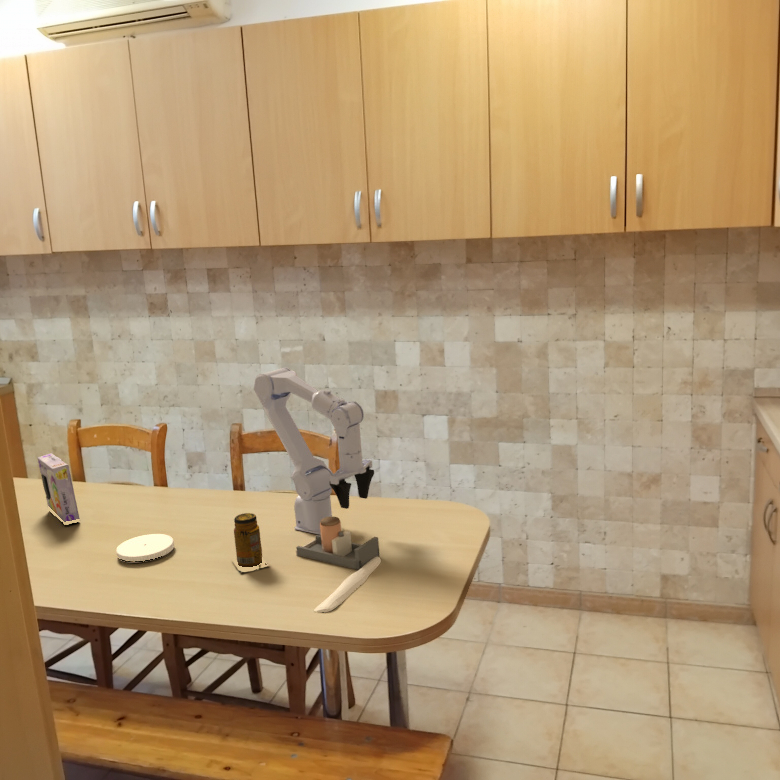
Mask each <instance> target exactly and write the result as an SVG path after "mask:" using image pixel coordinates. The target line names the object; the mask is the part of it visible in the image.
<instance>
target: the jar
mask: <svg viewBox="0 0 780 780" xmlns="http://www.w3.org/2000/svg"><path fill="white" fill-rule="evenodd" d="M339 531H342V523H341V520H340V518H339V517H338V516H332V517H325V518H323V519H321V520H320V532H321V535H320V536H321V542H322V551H323V552H328V553H332V554H333V548H332V540H333V539H334V538H336V537H338V536H339V533H338V532H339Z"/></svg>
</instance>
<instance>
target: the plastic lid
mask: <svg viewBox="0 0 780 780" xmlns="http://www.w3.org/2000/svg"><path fill="white" fill-rule="evenodd" d="M174 541H175V540H174V538H173V537H172V536H171V535H169V534H163V533H150V534H143V535H138V536H135V537H132V538H130V539H127V540H125V541H123V542H121V543H120V544H119V545H118V546H117V547H116V548H115V549H116V550H115V553H116V557H117V556H118V557H119V558H120V559H123V560H127V561H128V560H129V561H143V562H144V560H150V559H153V560H156V559H155V558H157V559H159V558H158V557H160V558H162V557H164V556H166V555H168V554H169V553H170V552H172V550H173V549H174V548H175V543H174ZM161 556H162V557H161ZM118 557H117V558H118ZM150 561H151V560H150Z"/></svg>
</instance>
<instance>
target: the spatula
mask: <svg viewBox="0 0 780 780" xmlns="http://www.w3.org/2000/svg"><path fill="white" fill-rule="evenodd" d="M381 563H382V559H381V558H380V557H375V558H373V559H372V560H370V561H369V562H368V563H367V564H365V565H364V566H363V567H362V568H361V569H360V570H356V571H355V572H353V573H352V574H350V575H348V576H347V577H346V578H345V579H344V580H343V581H342V582H341V584H339V586H338V587H337V588H336V589H335V590H334V591H333V592H332V593H331V594H330V595H329V596H328V597H326V598H325V600H323V601H322V602H321V603H320V604H318V605H317V606H316V607H315V608H314V609H313V612H314V611H317V612H324V613H328V612H331V611H333V610H334V609H336V608H338V606H339V605H341V604H343V603H344V602H345V601H346V600H347V599H348V598H349V597H350V596H351V595H352V594H353V593H354V592H355V591H356V590H357V589H358V588H360V587H361V586H362V585H363V584H364V583H366V581H367V579H369V578H368V577H369V576H370V575H371V574H372V573H373V572H374V571H375V570H376V568H378V566H379V565H380V564H381ZM360 585H361V586H360ZM356 588H357V589H356ZM354 590H355V591H354ZM353 591H354V592H353ZM352 592H353V593H352ZM351 593H352V594H351ZM350 594H351V595H350ZM349 595H350V596H349ZM348 596H349V597H348ZM347 597H348V598H347ZM346 598H347V599H346ZM345 599H346V600H345ZM344 600H345V601H344ZM343 601H344V602H343ZM342 602H343V603H342Z"/></svg>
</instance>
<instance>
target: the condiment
mask: <svg viewBox="0 0 780 780" xmlns="http://www.w3.org/2000/svg"><path fill="white" fill-rule="evenodd" d="M233 521H234V528H233V535H234V545H235V552H236V553H235V554H236V560H237V562H238V565H239V566H242V567H253V566H257V565H259V564H260V563H262V557H263V548H262V542H261V539H262V538H261V532H260V526H259V525H258V520H257V516H256V514H255V513H253V512H252V513H251V512H245V513H240V514H237V515H236V516H235V517H234V519H233ZM267 564H269V563H268V562H267ZM267 564H266V563H265V565H267Z"/></svg>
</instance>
